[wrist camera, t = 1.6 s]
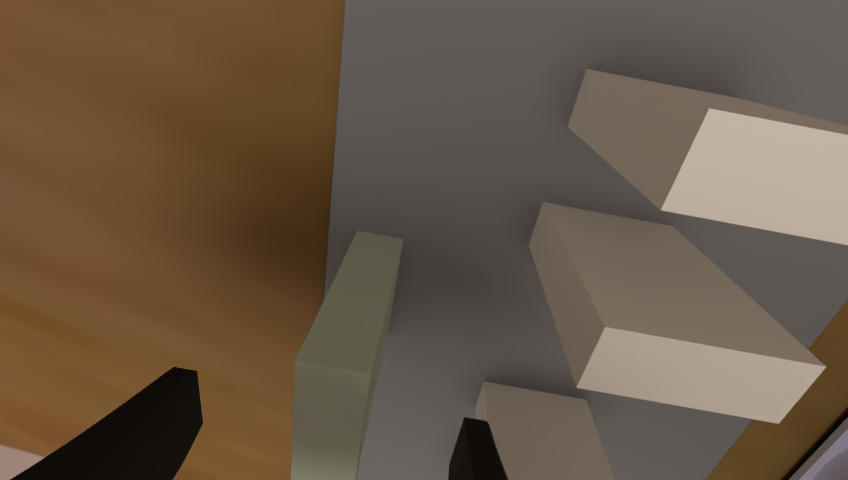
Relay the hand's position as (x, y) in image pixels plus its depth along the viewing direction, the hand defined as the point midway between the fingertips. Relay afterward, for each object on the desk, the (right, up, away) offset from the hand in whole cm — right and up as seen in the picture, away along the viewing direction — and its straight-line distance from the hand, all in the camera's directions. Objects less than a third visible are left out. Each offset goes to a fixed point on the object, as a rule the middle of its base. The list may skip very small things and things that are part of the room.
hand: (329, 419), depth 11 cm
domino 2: (+10, +9, +2) cm, 13 cm away
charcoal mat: (+8, +1, +7) cm, 11 cm away
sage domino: (0, +3, +6) cm, 7 cm away
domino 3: (+9, +5, +4) cm, 11 cm away
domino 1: (+7, -3, +8) cm, 12 cm away
